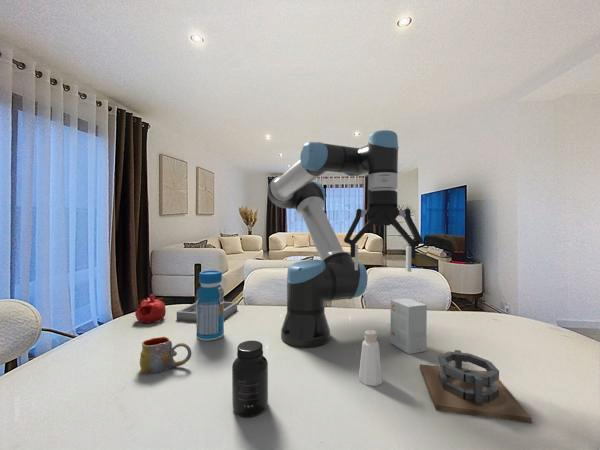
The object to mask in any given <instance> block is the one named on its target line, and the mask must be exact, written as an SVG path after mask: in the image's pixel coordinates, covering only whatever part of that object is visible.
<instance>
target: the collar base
mask: <svg viewBox="0 0 600 450" xmlns="http://www.w3.org/2000/svg"><path fill="white" fill-rule="evenodd" d="M419 370H420V373H421V375H422V378H423V380H424V383H425V387H426V388H427V392H428V394H429V397H430V399H431V400H432V404H433V407H434V409H435V411H441V412H449V413H454V414H455V413H457V414H462V415H463V414H464V415H469V416H470V415H471V416H475V417H476V416H478V417H484V418H485V417H486V418H491V419H499V420H504V421H505V420H506V421H507V420H508V421H513V422H521V423H529V424H532V422H533V417H532V416H531V415H530V414H529V412H528V411H527V410H526V409H525V408H524V407H523V406H522V404H521V403H520V402H519V401H518V400H517V399H516V397H515V396H514V395H513V394H512V393H511V391H509V389H508V388H507V387H506V386H505V385H504V384H503V383H502V381H501V380H500V378H499V379H498V380H497V381H495V382H494V383H495V384H496V385H497V387H498V388H499V397H497V398H496V399H494V400H493V401H491V402H490V403H482V406H478V405H475V404H474V402H473V401H467V400H465V399H461V398H459V397H457V396H455V395H453V394H451V393H450V392H448V391H446V390H444V389H443V388H442V386H441V383H440V381H439V379H438V372H439V371H440V370H442V369H441V367H440V365H432V364H431V365H429V364H422V363H421V364H419ZM473 370H474V371H476V372H478V373H481V374H485V373H487V371H486V370H480V369H479V370H477V369H473ZM448 381H449V382H451V383H453V384H455V385H457V386H459V387H461V388H463V389H465V390H473V383H466V382H462V381H460V380H458V379H456V378H454V377H452V376H451V377H450V378H448ZM485 390H487V387H486V386H485V385H483V392H484V391H485Z"/></svg>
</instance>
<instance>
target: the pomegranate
mask: <svg viewBox="0 0 600 450" xmlns="http://www.w3.org/2000/svg"><path fill="white" fill-rule="evenodd" d="M163 299H164V298H163V297H159V298H156V299H155V296H154V295H153V294H150V295H149V297H146V298H145V299H143V300H142V299H141V300H139V302H140V303H139V305H138V306H137V309H136V311H135V318H136V320H137V321H138V322H139V323H143V324H153V323H157V322H159V321H162V320H163V319H164V318H165V317H166V313H167V311H166V304H165V303H164V302H163V301H162V300H163Z"/></svg>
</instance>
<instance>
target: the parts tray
mask: <svg viewBox="0 0 600 450" xmlns="http://www.w3.org/2000/svg"><path fill="white" fill-rule="evenodd" d="M224 302H225V303H224V320H225V319H227V318H229V316H231V315H232V314H233V313H235V312H237V311H238V302H236V301H235V302H232V301H224ZM195 307H196V302H194V303H192V304H190V305H188V306H186V307H184V308H182V309H180V310H178V311H176V321H179V322H180V321H182V322H190V323H191V322H193V323H197V313H196V312H195Z"/></svg>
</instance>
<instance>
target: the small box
mask: <svg viewBox="0 0 600 450" xmlns="http://www.w3.org/2000/svg"><path fill="white" fill-rule="evenodd" d="M427 306H428V305H427V304H425V303H422V302H419V301H417V300H414V299H410V298H405V297H403V298H393V299H392V298H391V299H390V327H389V328H390V330H389V331H390V332H389V333H390V338H389V342H390V344H391V345H393V346H395V347H396V348H398V349H400V350H401V351H403V352H405V353H406V354H408V355H413V354H418V353H422V352H426V351H427V335H428V334H427V323H428V322H427V321H428V320H427V319H428V317H427V313H428V312H427Z"/></svg>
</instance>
